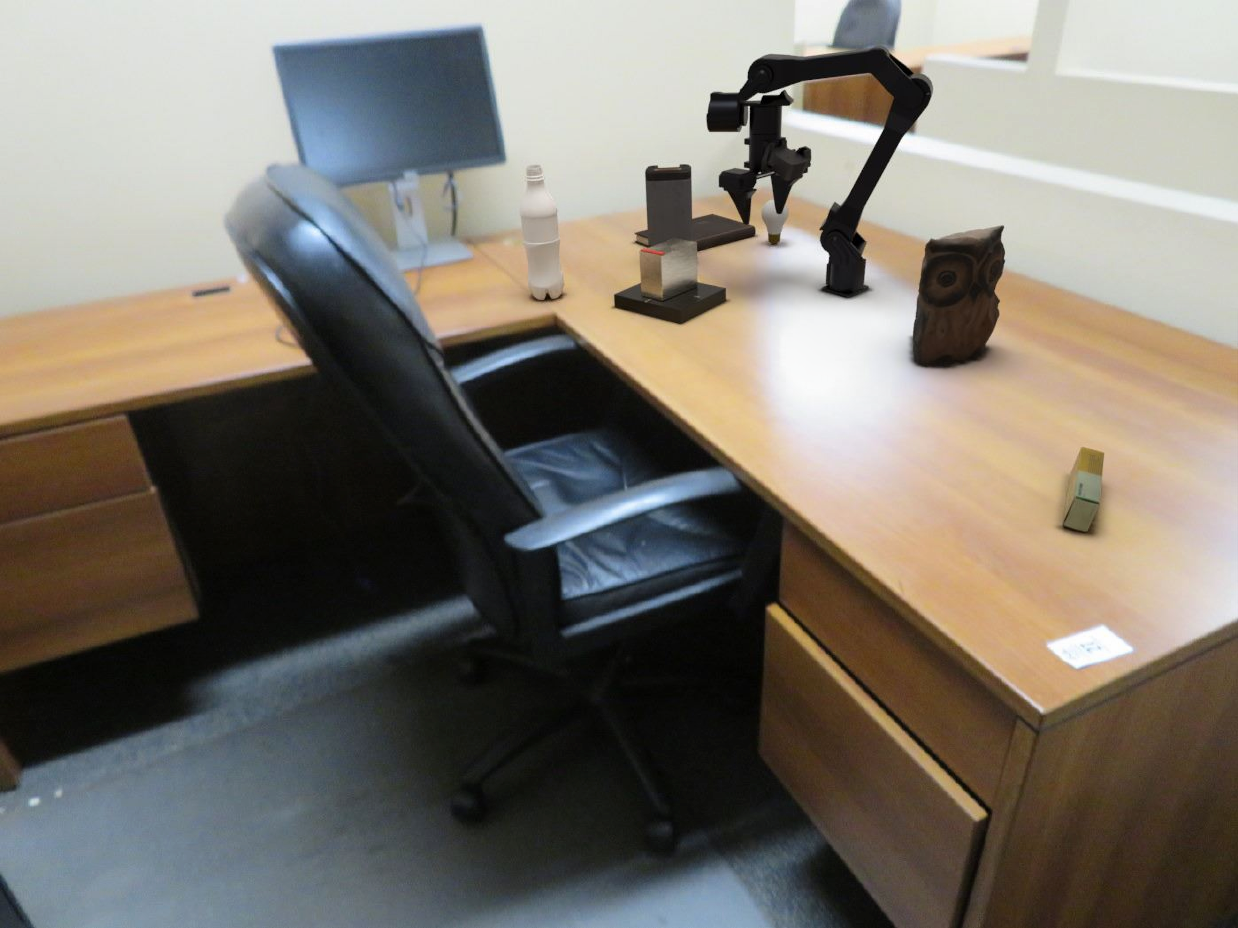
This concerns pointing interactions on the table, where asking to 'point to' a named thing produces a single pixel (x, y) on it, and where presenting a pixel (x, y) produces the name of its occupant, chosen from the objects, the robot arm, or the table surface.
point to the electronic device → (668, 203)
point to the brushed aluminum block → (668, 269)
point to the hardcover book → (710, 231)
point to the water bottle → (541, 237)
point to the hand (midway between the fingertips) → (762, 219)
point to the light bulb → (774, 221)
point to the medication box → (1084, 490)
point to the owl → (958, 297)
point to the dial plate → (672, 302)
